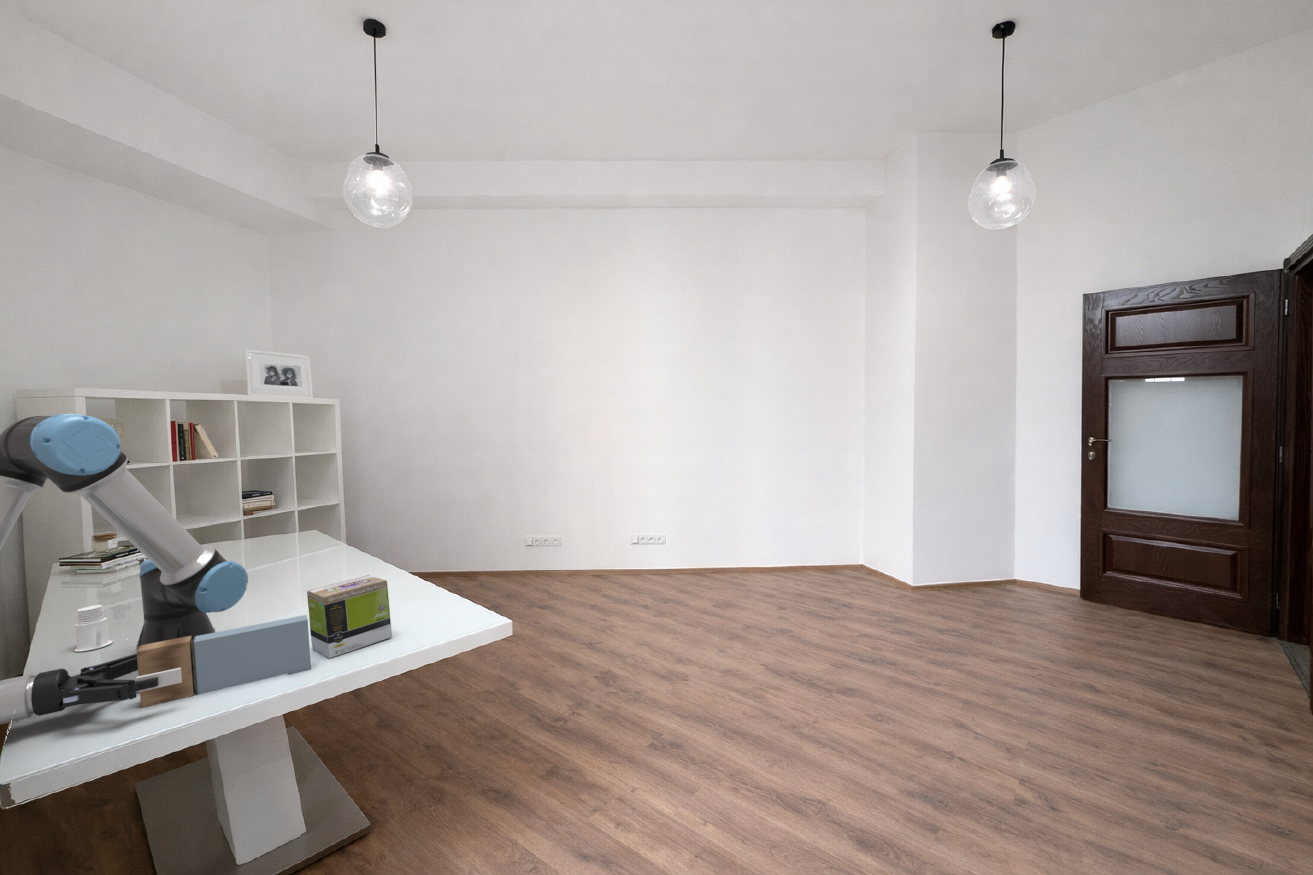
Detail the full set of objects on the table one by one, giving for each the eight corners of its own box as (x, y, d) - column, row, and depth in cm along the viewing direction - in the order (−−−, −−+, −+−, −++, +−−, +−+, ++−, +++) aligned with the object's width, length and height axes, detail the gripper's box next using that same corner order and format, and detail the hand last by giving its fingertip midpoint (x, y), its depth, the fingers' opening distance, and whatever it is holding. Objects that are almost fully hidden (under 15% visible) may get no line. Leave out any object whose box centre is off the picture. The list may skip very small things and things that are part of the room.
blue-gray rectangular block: (196, 696, 119) (191, 642, 118) (198, 688, 122) (194, 636, 122) (311, 669, 130) (307, 619, 129) (309, 662, 133) (306, 614, 133)
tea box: (373, 630, 153) (370, 573, 152) (392, 638, 146) (389, 579, 146) (310, 649, 141) (306, 588, 140) (328, 660, 135) (323, 595, 134)
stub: (141, 707, 114) (136, 651, 114) (144, 699, 118) (140, 645, 117) (193, 695, 119) (189, 641, 118) (195, 687, 122) (191, 635, 122)
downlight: (118, 644, 149) (114, 604, 149) (81, 654, 143) (76, 613, 143) (106, 640, 154) (102, 602, 153) (69, 650, 148) (65, 610, 147)
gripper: (57, 689, 118) (192, 661, 130) (13, 745, 98) (179, 705, 109) (53, 652, 118) (190, 627, 130) (9, 701, 97) (176, 665, 109)
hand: (185, 663), depth 119 cm, fingers open, 12 cm apart
